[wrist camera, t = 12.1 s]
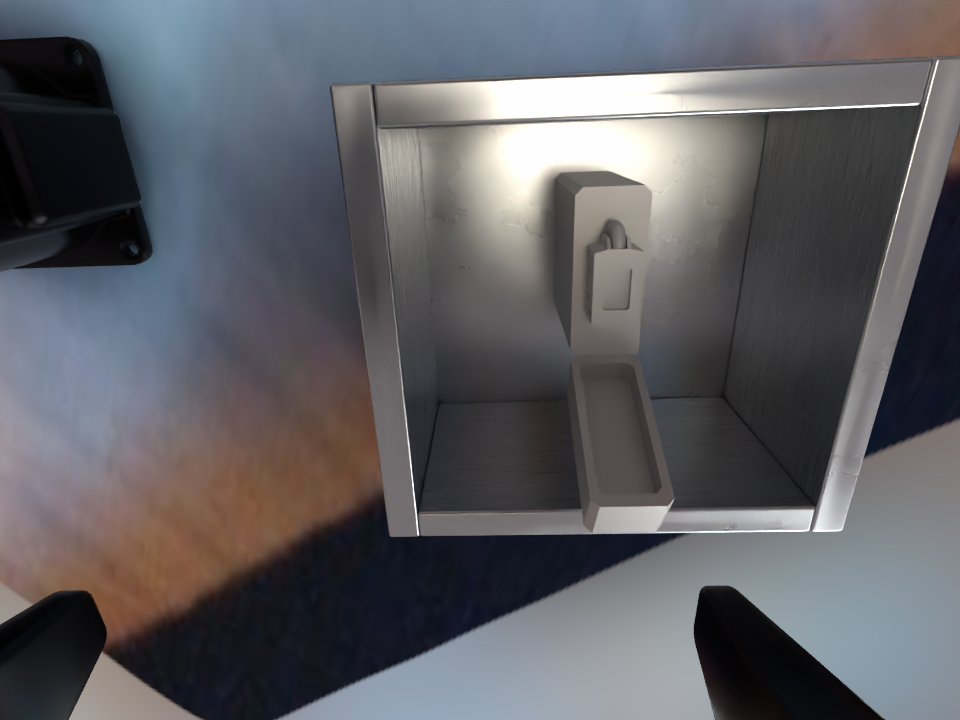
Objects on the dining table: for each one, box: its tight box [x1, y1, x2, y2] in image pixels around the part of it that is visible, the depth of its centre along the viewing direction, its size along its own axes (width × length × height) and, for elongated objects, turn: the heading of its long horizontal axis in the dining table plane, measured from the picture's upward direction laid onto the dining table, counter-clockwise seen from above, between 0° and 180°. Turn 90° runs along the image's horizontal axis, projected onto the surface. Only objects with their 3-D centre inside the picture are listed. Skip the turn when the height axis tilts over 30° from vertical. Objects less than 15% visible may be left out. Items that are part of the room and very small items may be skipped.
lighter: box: [553, 171, 675, 533], centre depth 14 cm, size 7×2×8 cm, turn 2°
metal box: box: [330, 55, 960, 537], centre depth 15 cm, size 12×11×7 cm
